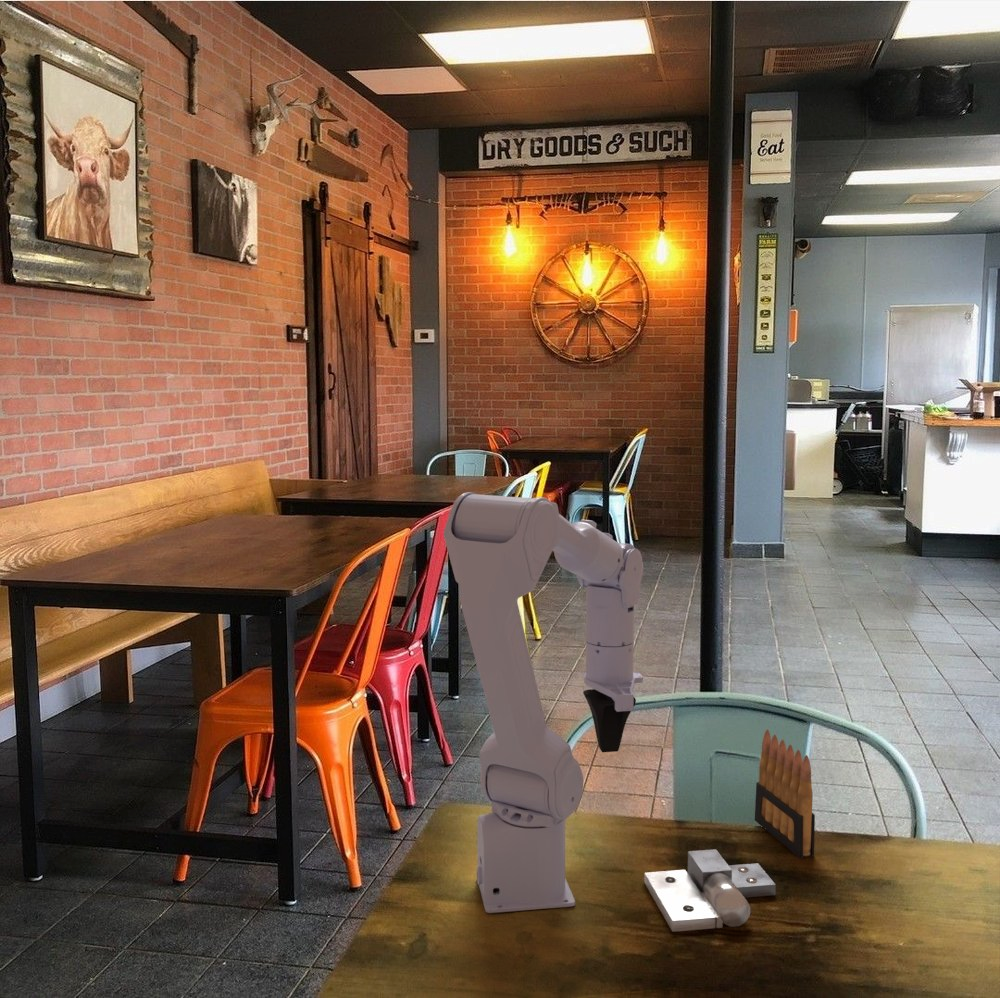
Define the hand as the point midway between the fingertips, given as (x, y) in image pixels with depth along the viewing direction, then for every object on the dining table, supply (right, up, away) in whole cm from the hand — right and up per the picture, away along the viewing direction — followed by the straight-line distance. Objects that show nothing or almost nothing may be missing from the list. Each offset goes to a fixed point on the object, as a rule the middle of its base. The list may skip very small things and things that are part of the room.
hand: (608, 749), depth 124 cm
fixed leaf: (+7, -12, -17) cm, 22 cm away
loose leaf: (+12, -12, -14) cm, 21 cm away
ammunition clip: (+21, -10, -2) cm, 23 cm away
